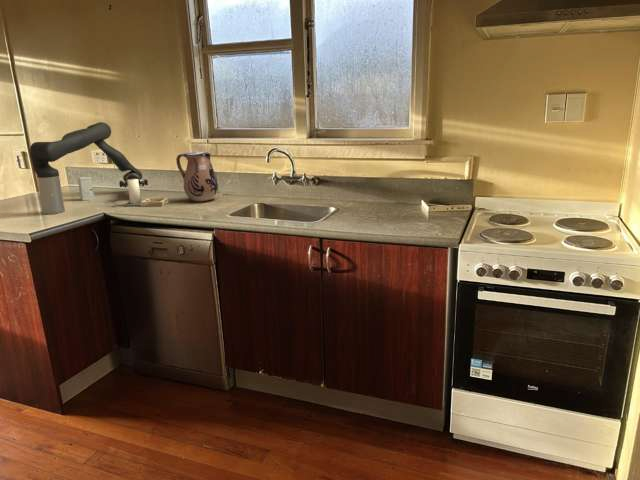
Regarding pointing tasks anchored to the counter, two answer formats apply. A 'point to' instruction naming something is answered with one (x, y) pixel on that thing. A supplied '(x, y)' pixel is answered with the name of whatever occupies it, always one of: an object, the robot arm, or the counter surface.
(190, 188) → the ceramic pitcher
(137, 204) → the tear pad
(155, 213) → the counter surface
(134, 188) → the white pillar candle
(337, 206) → the counter surface
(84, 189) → the skincare box
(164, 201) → the dispenser tray
